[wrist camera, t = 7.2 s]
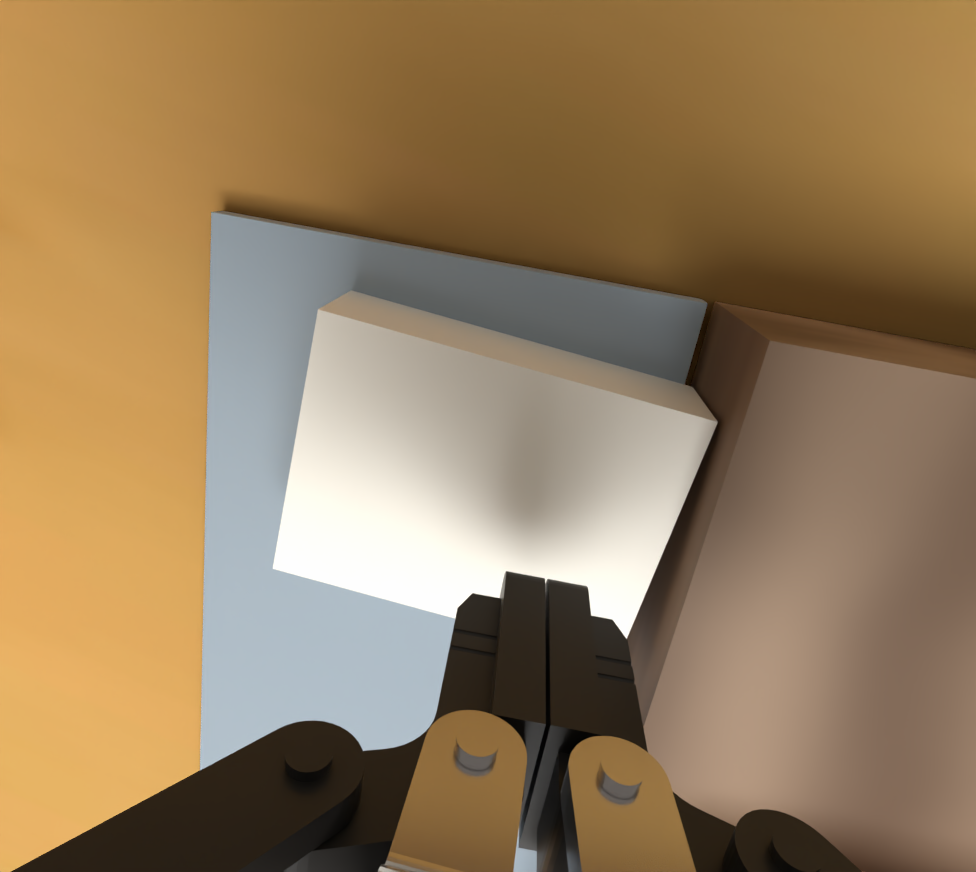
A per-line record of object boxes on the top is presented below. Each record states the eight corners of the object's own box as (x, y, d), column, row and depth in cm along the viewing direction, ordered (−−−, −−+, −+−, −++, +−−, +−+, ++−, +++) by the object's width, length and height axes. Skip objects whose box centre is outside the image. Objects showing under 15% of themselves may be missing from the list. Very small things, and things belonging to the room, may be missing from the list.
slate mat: (701, 299, 15) (707, 303, 15) (532, 897, 22) (531, 915, 22) (223, 210, 15) (211, 212, 15) (206, 833, 23) (198, 850, 22)
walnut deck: (1202, 391, 15) (1416, 460, 11) (869, 963, 22) (935, 1120, 19) (714, 301, 15) (769, 340, 12) (540, 899, 22) (540, 1042, 19)
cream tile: (692, 387, 15) (718, 422, 13) (607, 600, 18) (616, 662, 15) (351, 290, 15) (317, 309, 13) (307, 518, 17) (272, 568, 15)
